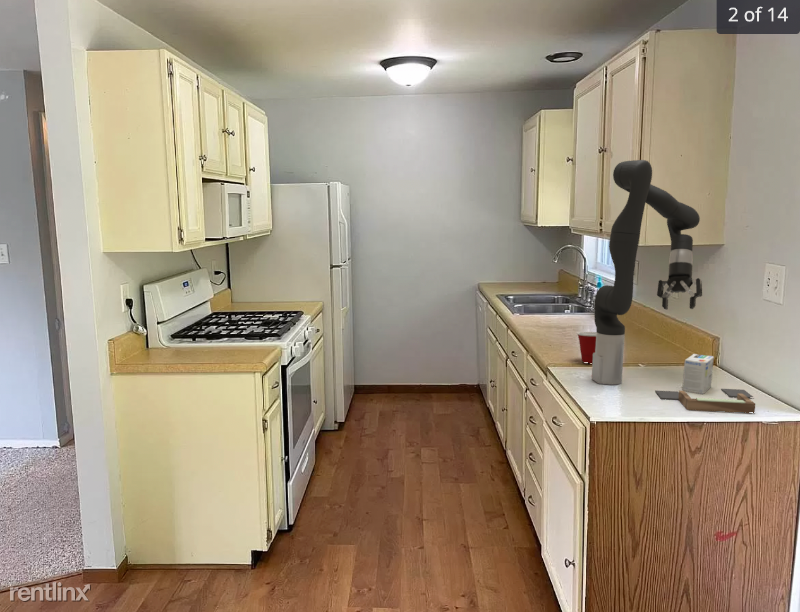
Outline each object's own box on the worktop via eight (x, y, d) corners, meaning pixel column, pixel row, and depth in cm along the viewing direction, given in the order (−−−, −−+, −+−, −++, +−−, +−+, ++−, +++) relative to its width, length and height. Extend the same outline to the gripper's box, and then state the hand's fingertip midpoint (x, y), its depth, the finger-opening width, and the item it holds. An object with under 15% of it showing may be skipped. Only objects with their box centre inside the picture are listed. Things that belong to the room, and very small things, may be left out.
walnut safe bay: (678, 399, 193) (679, 389, 192) (741, 403, 189) (742, 392, 189) (687, 409, 183) (688, 399, 182) (754, 413, 180) (755, 402, 179)
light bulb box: (690, 383, 210) (692, 353, 209) (711, 387, 206) (714, 356, 204) (681, 390, 202) (684, 359, 200) (703, 394, 198) (706, 362, 196)
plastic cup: (598, 359, 244) (600, 329, 242) (608, 365, 233) (610, 335, 232) (571, 359, 244) (572, 329, 242) (580, 366, 233) (581, 335, 231)
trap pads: (651, 386, 207) (651, 385, 206) (744, 391, 202) (744, 389, 202) (661, 399, 193) (661, 397, 193) (761, 404, 188) (761, 402, 188)
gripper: (656, 262, 218) (653, 306, 214) (699, 259, 208) (697, 305, 205) (663, 268, 223) (660, 311, 220) (705, 265, 214) (703, 311, 211)
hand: (678, 308), depth 213 cm, fingers open, 8 cm apart
